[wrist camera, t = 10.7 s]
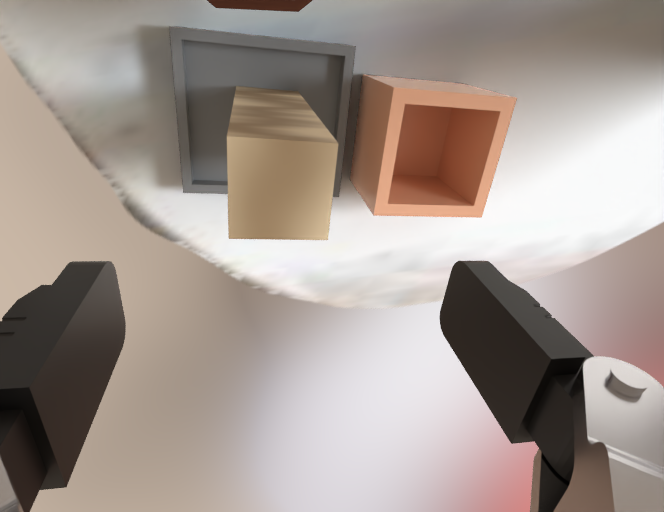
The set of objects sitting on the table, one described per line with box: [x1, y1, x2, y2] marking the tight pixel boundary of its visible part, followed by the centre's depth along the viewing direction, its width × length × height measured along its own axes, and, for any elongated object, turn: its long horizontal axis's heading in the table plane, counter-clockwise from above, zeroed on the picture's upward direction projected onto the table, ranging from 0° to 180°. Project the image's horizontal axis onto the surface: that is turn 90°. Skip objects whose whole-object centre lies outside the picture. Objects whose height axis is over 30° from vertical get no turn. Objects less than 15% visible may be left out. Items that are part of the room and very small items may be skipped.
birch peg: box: [227, 86, 338, 240], centre depth 21 cm, size 4×4×14 cm
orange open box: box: [350, 74, 517, 217], centre depth 28 cm, size 8×8×7 cm
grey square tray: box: [169, 26, 356, 197], centre depth 27 cm, size 11×10×2 cm
